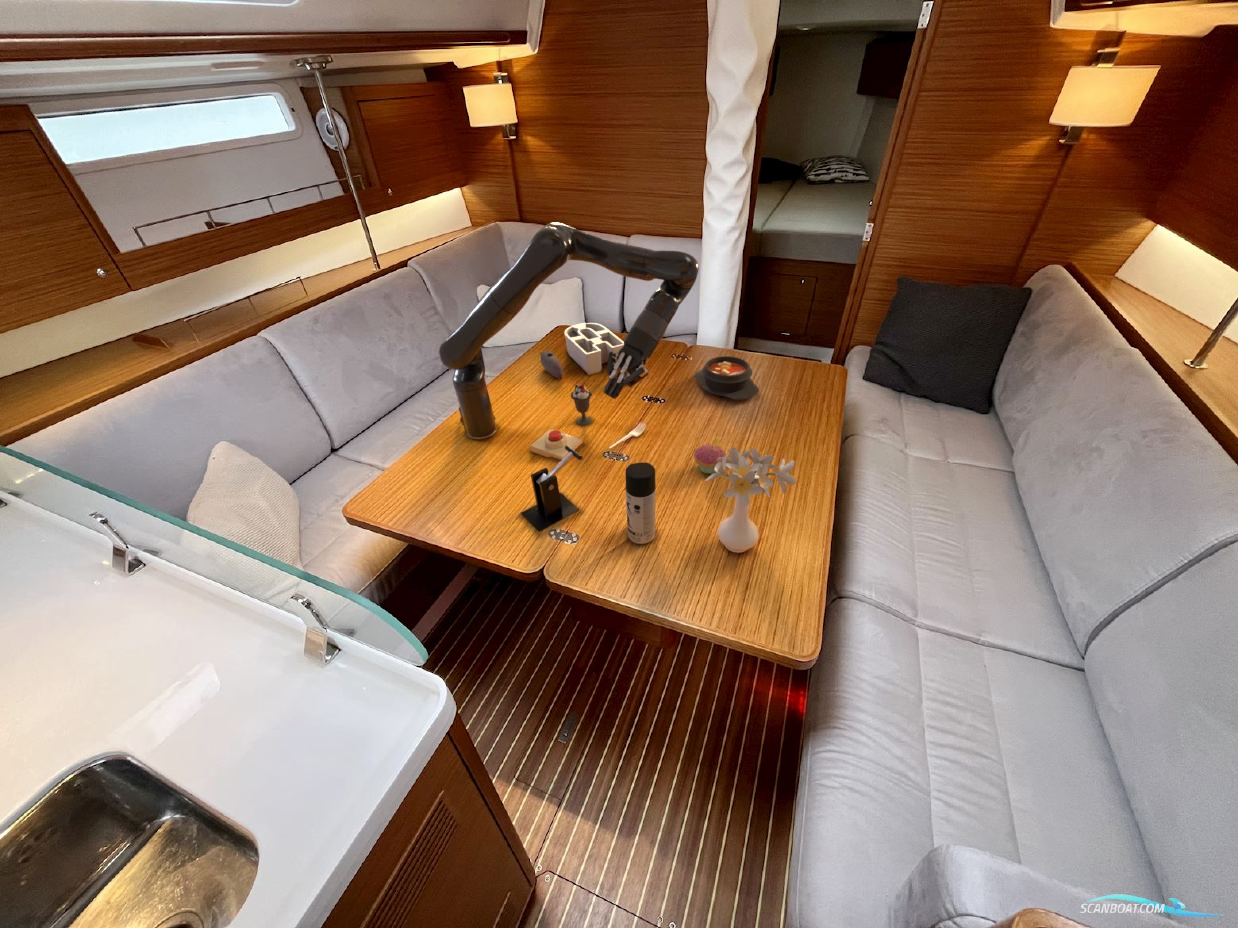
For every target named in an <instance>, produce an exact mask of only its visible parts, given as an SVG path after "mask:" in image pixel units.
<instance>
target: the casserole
mask: <svg viewBox="0 0 1238 928" xmlns="http://www.w3.org/2000/svg"><path fill="white" fill-rule="evenodd" d="M750 365H751V364H749V362H748V361H746V360H745V359H743V358H741V357H738V356H737V357H736V356H729V355H727V356H726V355H722V356H715V357H712V358H711V359H708V360H707V361H706V363H705V364H704V366H703V367H702V369H700V370H698V371H697V372H696V373H695V374H694V378H695V380H697V382H698V384H699V387H700V388H701V389H702V390H703V391H705V392H707V393H708V394H712V395H714V396H715V395H716V396H721V397H725V398H728V399H731V400H733V401H738V400H739V401H740V400H741V401H742V400H747V399H751V398H753V397H754V396H756V395H757V394H759V392H760V388H759V387H758V386H757V385H756V384H755V382H754V381H753V380H752V378H751V377H752V376H753V370H752V368H751V366H750Z"/></svg>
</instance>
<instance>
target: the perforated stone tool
mask: <svg viewBox="0 0 1238 928" xmlns="http://www.w3.org/2000/svg"><path fill="white" fill-rule="evenodd" d="M540 363H541V365H542V368H544V369H545V371H546V372H547V373H548V374H550V375H551V376H552V377H554V378H556V379H559V380H561V379H563V377H564V369H563V366H562V364H561V362H560V361H559V358H557V357H556V355H555V354H554V353H553V352H552V351H549V350H543V351H542V352H540Z"/></svg>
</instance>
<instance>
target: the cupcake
mask: <svg viewBox="0 0 1238 928" xmlns="http://www.w3.org/2000/svg"><path fill="white" fill-rule="evenodd" d="M719 440H720V434H718V435H717V436H716V438H715V441H714V444H711V443H710V444H708V443H706V444H701V445H700V446H699V447H697V448H696V449H695V451H694V453H693V458H694V462H695V463H696V464H698V466H699V468H700V469H699V470H700V471H701V472H702V473H704V474H708V475H712V474H714V473H717V472H716V471H715V466H716V464H717V463H718V462H717V458H720V457H725V455H726V452H725V450H724V449H722V448H721V447H720V446H718V444H719ZM721 464H722V463H721Z"/></svg>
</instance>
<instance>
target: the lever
mask: <svg viewBox="0 0 1238 928" xmlns="http://www.w3.org/2000/svg"><path fill="white" fill-rule="evenodd" d="M565 449H566V450H567V451H568V452H569V454H568V455H567V456H566V457H565V458H564V459H563V460H560V461H559V462H558V463H557V464H556V465H555V466H554V467H553V469H551V471H549V472H548V473H549V474H548V475H546V474H545V473H543V474H542V475H541V476H540V477H539V478H538V479H537V480H536V482H537V483H538V484H539V483H540V482H542V481H544V480H546V479H548V478H550V477H552V476H554V475H555V476H556V475H557V474H558V473H559V472H560V471H561V470H562V469H563V468H564V467H565V466H566V465H567V464H568V463H569V462H570V461H571V460H572V459H573V458H575V459H577V460H578V461H582V460H583V456H582V455H581V454H580V452H579V453H578V452H577V451H576V449H575V450H573V449H572V448H571V447H570V446H568V445H566V446H565Z"/></svg>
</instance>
